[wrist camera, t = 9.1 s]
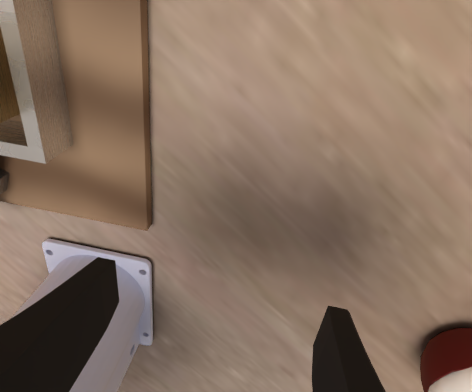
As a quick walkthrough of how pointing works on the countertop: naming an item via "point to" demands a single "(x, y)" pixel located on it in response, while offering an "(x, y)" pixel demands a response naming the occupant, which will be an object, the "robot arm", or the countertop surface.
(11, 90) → the wooden block
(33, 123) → the hollow square frame
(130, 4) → the walnut base plate
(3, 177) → the shaft
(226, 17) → the countertop surface
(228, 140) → the countertop surface
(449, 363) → the cocoa
